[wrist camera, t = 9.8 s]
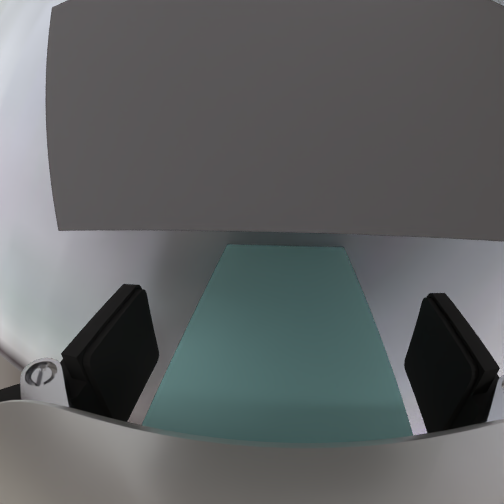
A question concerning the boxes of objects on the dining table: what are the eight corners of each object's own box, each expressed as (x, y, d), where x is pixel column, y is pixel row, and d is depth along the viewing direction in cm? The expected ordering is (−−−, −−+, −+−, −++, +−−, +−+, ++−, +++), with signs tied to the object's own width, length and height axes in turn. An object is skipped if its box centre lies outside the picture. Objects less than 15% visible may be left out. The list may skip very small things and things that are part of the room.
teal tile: (227, 244, 14) (132, 445, 4) (343, 247, 13) (419, 457, 4) (229, 297, 15) (164, 499, 5) (337, 300, 14) (377, 508, 5)
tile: (223, 90, 11) (52, 7, 2) (351, 91, 11) (518, 14, 2) (224, 152, 12) (58, 230, 3) (350, 155, 12) (516, 241, 2)
